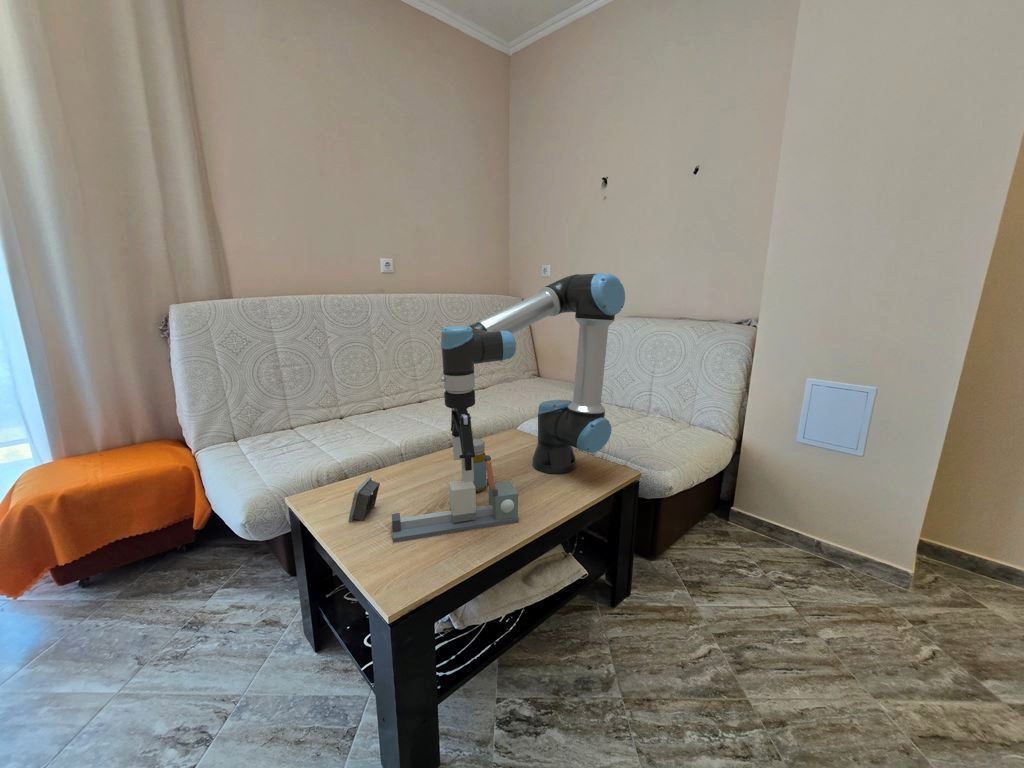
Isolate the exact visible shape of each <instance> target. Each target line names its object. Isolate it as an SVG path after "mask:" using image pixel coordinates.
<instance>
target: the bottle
mask: <svg viewBox="0 0 1024 768" xmlns="http://www.w3.org/2000/svg"><path fill="white" fill-rule="evenodd" d="M485 444H486V443H485V441H484V439H481V438H473V445H474V453H475V457H473V468H474V481H473V483H474V486H475V490H476V493H480V492H482V491H484V490H486V488H487V471H486V464H485V461H484V457H485V456H486V455H487V454H486V452H485Z"/></svg>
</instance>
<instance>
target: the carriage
mask: <svg viewBox="0 0 1024 768" xmlns="http://www.w3.org/2000/svg"><path fill="white" fill-rule="evenodd" d="M448 484H449V488H448V489H449V490H448V491H449V511H452V520H453V523H456V522H462V521H468V520H475V519H476V507H477V502H476V500H477V498H476V497H477V496H476V494H477V492H476V490H475V486H474V483H473V481H470V482H463V481H462V480H455V481H449V483H448Z"/></svg>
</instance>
